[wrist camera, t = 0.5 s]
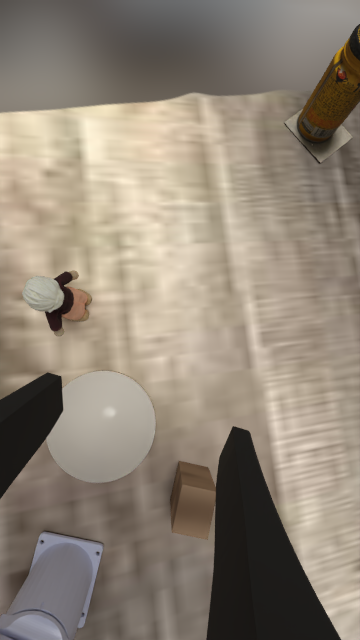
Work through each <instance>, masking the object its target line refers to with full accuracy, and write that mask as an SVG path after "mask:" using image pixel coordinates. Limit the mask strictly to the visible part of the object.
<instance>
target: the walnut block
mask: <svg viewBox="0 0 360 640" xmlns="http://www.w3.org/2000/svg"><path fill="white" fill-rule="evenodd" d="M215 501H216V487H215V485H214V482H213V479H212V477H211V474H210V471H209V469H208V467H204V466H199V465H195V464H190V463H186V462H181V461H179V463H178V468H177V472H176V477H175V481H174V486H173V490H172V495H171V499H170V505H171V525H172V532H173V533H178V534H182V535H187V536H192V537H197V538H202V539H207V540H208V535H209V530H210V525H211V520H212V515H213V511H214V506H215Z"/></svg>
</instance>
